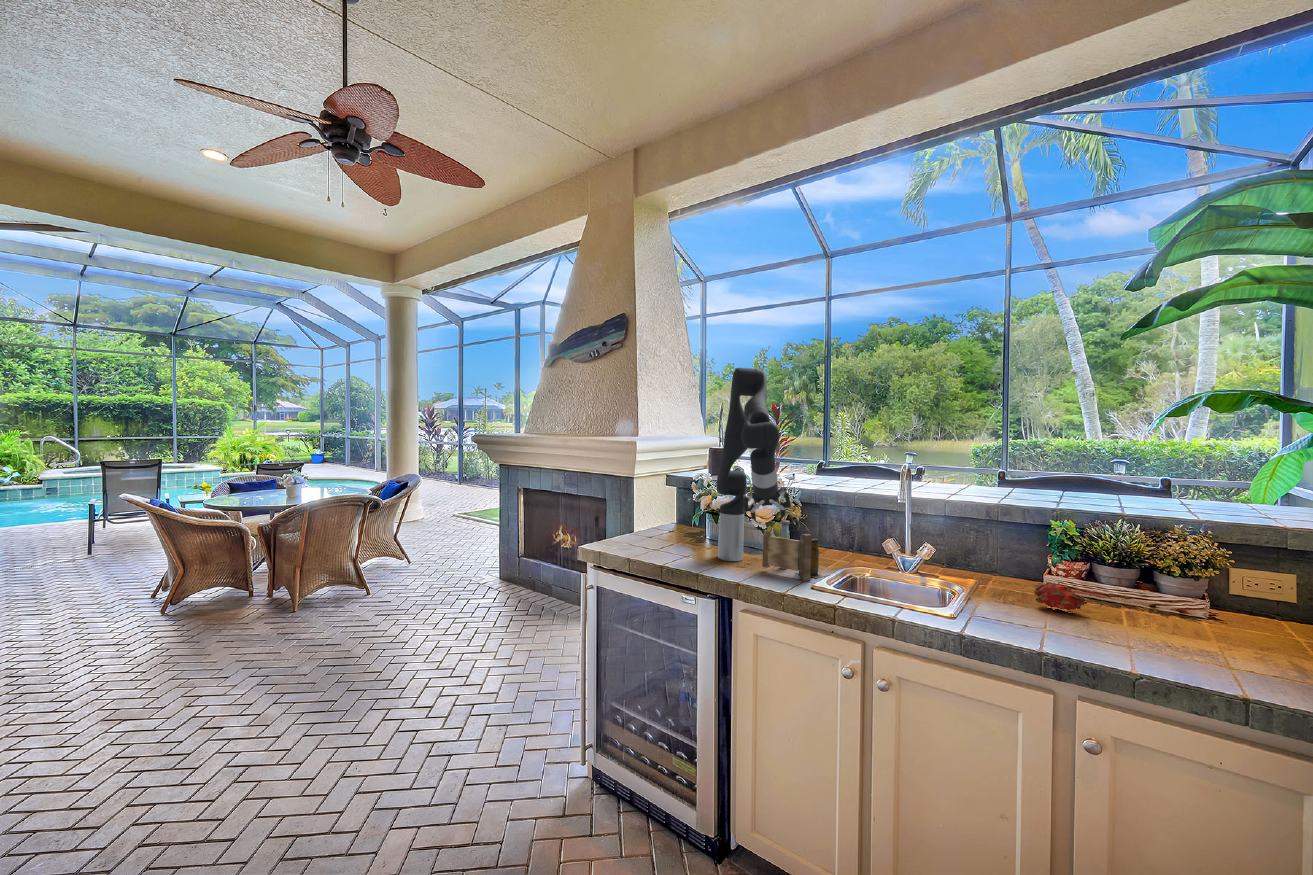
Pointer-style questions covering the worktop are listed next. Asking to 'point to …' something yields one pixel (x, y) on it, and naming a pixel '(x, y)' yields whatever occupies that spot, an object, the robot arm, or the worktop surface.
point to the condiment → (815, 560)
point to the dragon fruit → (1058, 596)
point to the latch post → (784, 530)
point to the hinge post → (805, 557)
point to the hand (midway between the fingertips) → (768, 517)
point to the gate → (781, 552)
